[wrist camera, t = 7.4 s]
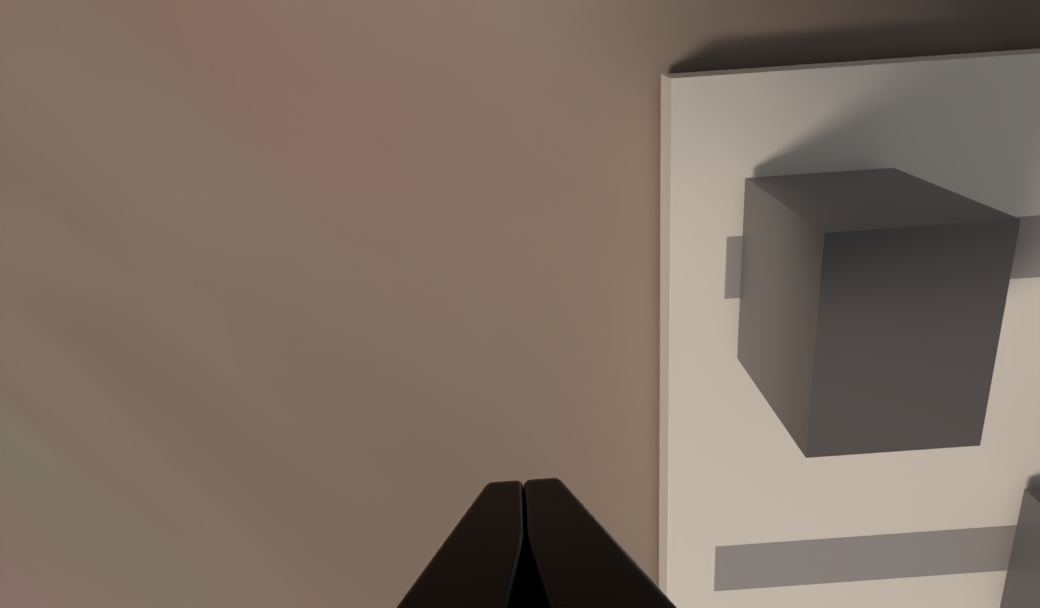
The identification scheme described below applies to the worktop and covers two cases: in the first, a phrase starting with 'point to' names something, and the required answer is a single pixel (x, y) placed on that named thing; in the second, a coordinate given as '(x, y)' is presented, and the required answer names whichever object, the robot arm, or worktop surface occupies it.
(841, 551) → the switch plate
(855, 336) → the slider
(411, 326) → the worktop surface
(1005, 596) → the slider on
